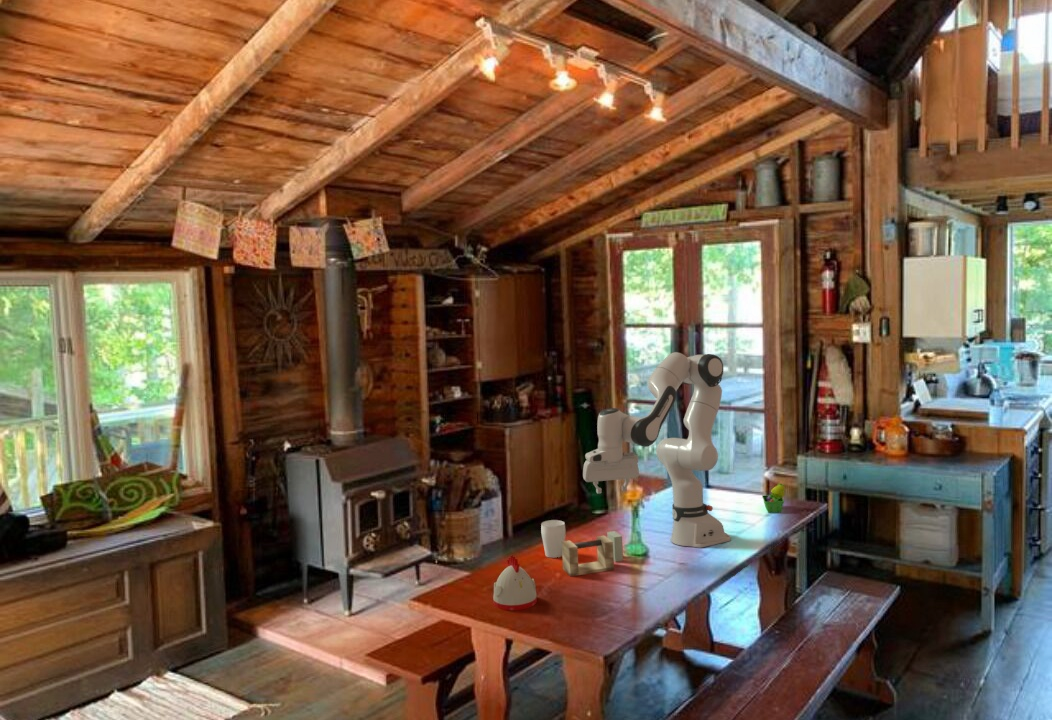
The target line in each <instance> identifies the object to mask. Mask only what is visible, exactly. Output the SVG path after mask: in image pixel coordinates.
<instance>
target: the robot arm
mask: <svg viewBox="0 0 1052 720" xmlns="http://www.w3.org/2000/svg"><path fill="white" fill-rule="evenodd" d="M723 374H724V362H723V361H722V358H721V357H720V356H718V355H715V354H712V353H706V354H695V355H690V356H688V357H687V356H686V355H685V354H683V353H682V352H677V351H674V352H671V353H670V354H668V355H667V356H666V357H664V359H663V360H661V362H660V363H659V364H658V365H657V366H656V367H655V369H654V370H653V371H652V373H651V375H649V377H648V380H647V386H648V389H649V391H650V393H651V394H652V396H653V397H654V398H656V401H655V402H654V405H653V406H652V408H651V410H650V412H649V413H648V414H647V415H645V416H643V417H642V416H641V417H639V416H633V415H629V414H627V413H624V412H622V411H621V410H620V409H619V408H617V407H610V408H605V409H602V410H601V411H600V412H599V413H598V416H597V423H596V425H597V427H596V428H597V430H596V431H597V433H596V434H597V438H598V442H597V448H596V449H593V450H591V451H589V452H586V453H585V455H584V457H585V459H586V460H585V462H584V464H583V468H582V478H583V480H584V481H585V482H586V483H592V484H593V486H594V487H595V492H596V494H602V493H603V492H602V488H601V487H599V486H598V485H599V482H603V481H604V482H605V481H617V480H624V483H623V485H621V486H620V487H621V491H622V492H627V490H628V488H627V487H628V485H629V483H630V482H631V481H630V479H638V478H639V475H640V471H639V464H638V463H639V456H638V454H637V453H636V452H634V451H632V452H623V451H624V450H623V448H624V447H623V442H625V443H626V442H627V443H630V444H634V445H635V444H636V445H638V446H641V447H647V448H648V447H650V446H651V445H653V444H654V443H655V442H656V441H657V439H658V438H659V434H660V432H661V431H660V430H661V428H662V426H663V425H664V422H666V421H665V420H666V419H667V417H668V415H669V414H670V412H671V410H672V408H673V406H674V404H675V402H676V400H677V396H678V394H677V390H678V389H679V387H680V386H681V385H682V384H684V385H693V393H692V396H691V399H690V401H689V404H688V406H687V409H686V412H685V413H684V418H683V424H684V427H685V428H686V429H687V430H688V437H687V438H682V437H681V438H679V437H669V438H663V439H661V440H660V441H659V443H658V444H657V447H656V457H657V459H658V460H659V462H660V463H662V465H663V467H664V469H666V471H667V473H668V476H669V478H670V482H671V485H672V494H673V495H672V498H673V504H672V519H673V525H672V532H671V536H670V537H671V538H670V542H671V543H673V544H675V545H677V546H683V547H694V548H698V549H699V548H700V549H701V548H705V547H710V546H713V545H718V544H723V543H726V542H730V541H731V540H732V539H731V536H730V535H729V534H728V533H727V532H725V528H724V525H723V523H722V522H721V521H720V520H719V519H718V518H716V517H714V516H713V515H712V514H710V513H709V512H712V511H713V510H714V508H713V506H712V505H710V504H705V502H704V493H703V492H704V490H703V484H702V482H701V480H700V479H698V478H697V477H696V475H695V473H694V471H697V472H698V471H699V472H701V471H702V472H703V471H710V470H712V469H713V468H715V467H716V465H717V462H718V460H719V459H718V457H719V454H718V451H717V448H716V447H715V446H714V444H713V441H712V431H713V427H714V423H715V420H716V417H717V415H718V412H719V408H720V405H721V400H722V396H723V395H722V394H723V389H722V387H721V385H720V384H721V381H722V380H723ZM708 511H709V512H708Z"/></svg>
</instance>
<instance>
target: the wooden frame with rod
mask: <svg viewBox="0 0 1052 720" xmlns="http://www.w3.org/2000/svg"><path fill="white" fill-rule="evenodd" d="M592 547H596V552H597V553H596V554H597V555H596V556H597V560H596V561H592V562H591V561H590V562H585V563H579V552H578V549H584V548H585V549H587V548H592ZM561 557H562V570H563V571H565V572H566V573H567V574H568V576H570V577H574V576H575V577H576V576H581V575H589V574H595V573H602V572H608V571H614V570H615V561H614V557H613V541H611V540H610V539H609V538H607V535H597V536H596V540H588V541H587V540H586V541H581V542H580V541H579V542H573V541H571V540H570V539H569V540H565V541H562V556H561Z"/></svg>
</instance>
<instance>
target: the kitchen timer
mask: <svg viewBox="0 0 1052 720" xmlns="http://www.w3.org/2000/svg"><path fill="white" fill-rule="evenodd" d="M506 562H507V567H506V568H504V570H503V571H502V572H501V573H500V575H499V576H498V577H497V580H496V582H494V583H493V596H492V598H493V605H494V607H495V608H497V609H500V610H504V611H521V610H525V609H529V608H531V607H533V606H534V605H536V604H537V602H538V599H537V596H538V595H537V590H536V583H535V579H534V578H531V576H530V575H529V574H528V572H527V571H526V570H525V569H524V568H522V567H521V566H520V563H519V562H518V558H516V557H515V556H514V555H513V554H512V555H509V557H508V559H507V560H506Z"/></svg>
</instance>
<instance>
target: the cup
mask: <svg viewBox="0 0 1052 720" xmlns="http://www.w3.org/2000/svg"><path fill="white" fill-rule="evenodd" d="M540 525H541V526H540V527H541V528H540V529H541V530H540V533H541V538H542V539H541V540H542V544H543V548H544V554H545V557H547V558H551V559H556V558H557V557H558V558H561V557H562V541H566V524H565V521H562V520H558V519H551V520H545V521H542V522H541V523H540Z"/></svg>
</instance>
